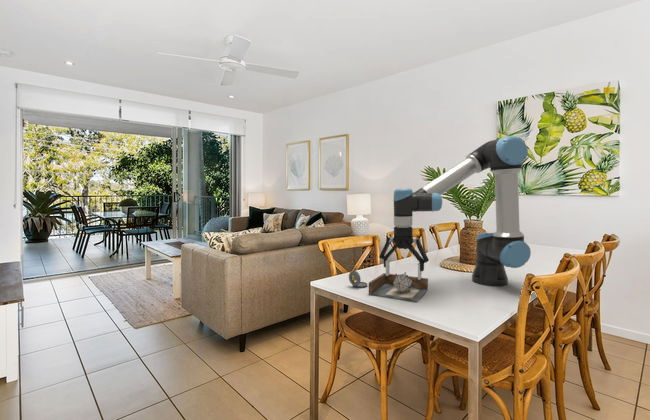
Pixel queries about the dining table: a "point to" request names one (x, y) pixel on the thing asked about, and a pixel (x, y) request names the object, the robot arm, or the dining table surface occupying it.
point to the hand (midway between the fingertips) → (403, 277)
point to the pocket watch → (357, 278)
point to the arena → (385, 289)
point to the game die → (402, 282)
